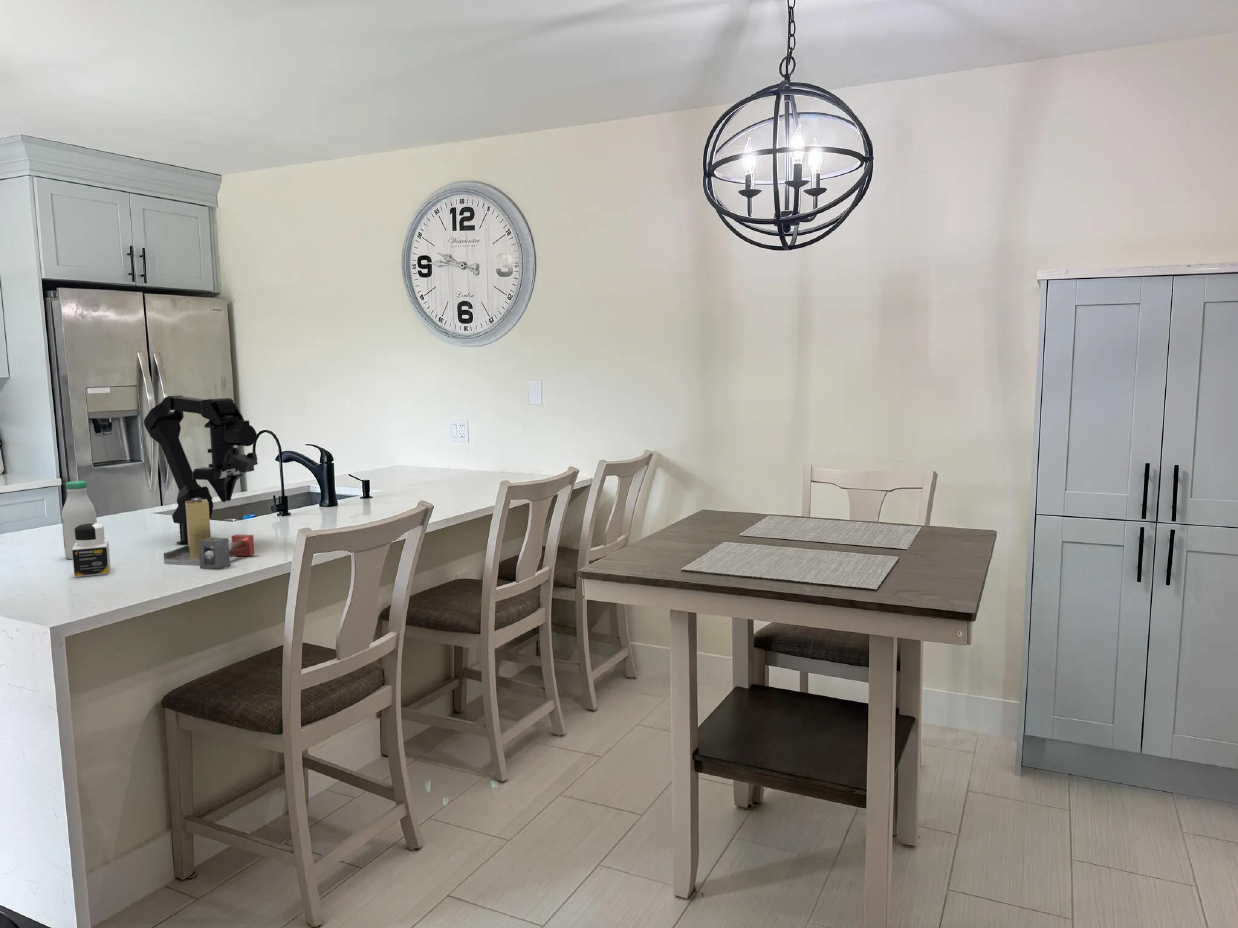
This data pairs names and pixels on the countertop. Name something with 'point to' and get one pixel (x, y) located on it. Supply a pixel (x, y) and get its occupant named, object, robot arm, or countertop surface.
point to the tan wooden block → (197, 523)
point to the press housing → (219, 550)
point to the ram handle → (237, 546)
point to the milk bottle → (76, 513)
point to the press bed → (182, 557)
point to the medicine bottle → (90, 551)
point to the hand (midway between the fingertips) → (226, 501)
